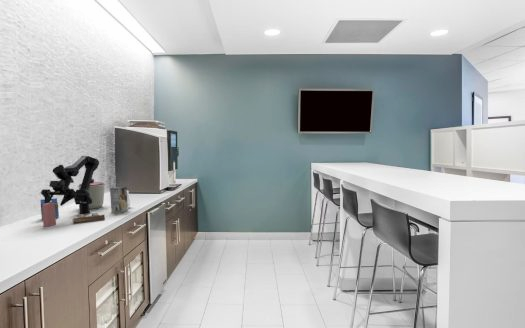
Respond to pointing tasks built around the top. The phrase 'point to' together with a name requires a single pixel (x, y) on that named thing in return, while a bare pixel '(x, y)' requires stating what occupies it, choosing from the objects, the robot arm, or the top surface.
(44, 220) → the dusty red block
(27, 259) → the top surface
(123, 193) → the coffee box
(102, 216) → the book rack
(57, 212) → the label tape cartridge
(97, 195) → the canister
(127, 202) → the cylinder with rectangular tab
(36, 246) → the top surface
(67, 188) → the robot arm
